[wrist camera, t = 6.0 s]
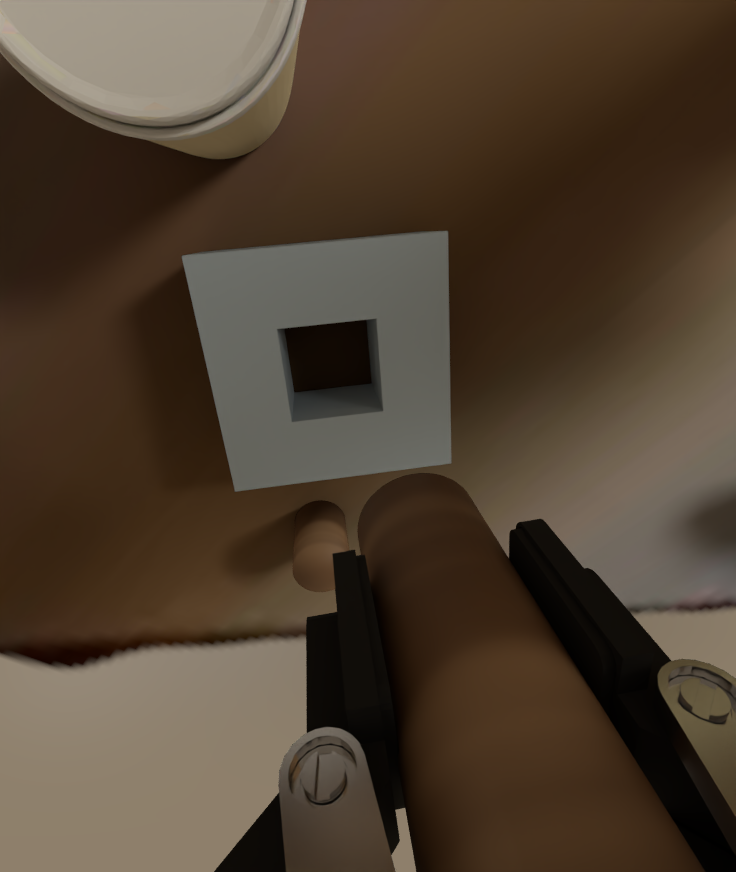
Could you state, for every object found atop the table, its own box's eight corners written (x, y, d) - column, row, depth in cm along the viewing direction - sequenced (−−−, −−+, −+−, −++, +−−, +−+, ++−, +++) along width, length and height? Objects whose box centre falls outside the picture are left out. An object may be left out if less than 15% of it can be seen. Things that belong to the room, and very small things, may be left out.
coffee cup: (260, -101, 20) (205, -493, 9) (336, 140, 24) (361, 64, 13) (59, -21, 21) (-224, -311, 10) (166, 206, 24) (51, 184, 13)
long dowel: (350, 483, 13) (603, 1871, 2) (474, 464, 13) (1315, 1606, 2) (364, 584, 14) (558, 1717, 3) (476, 564, 15) (996, 1564, 4)
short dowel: (291, 504, 32) (288, 548, 28) (342, 497, 32) (348, 540, 28) (298, 546, 34) (296, 595, 29) (347, 539, 34) (353, 587, 29)
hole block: (204, 251, 25) (181, 255, 21) (423, 231, 26) (448, 231, 22) (245, 452, 30) (234, 491, 26) (430, 429, 31) (451, 463, 27)
